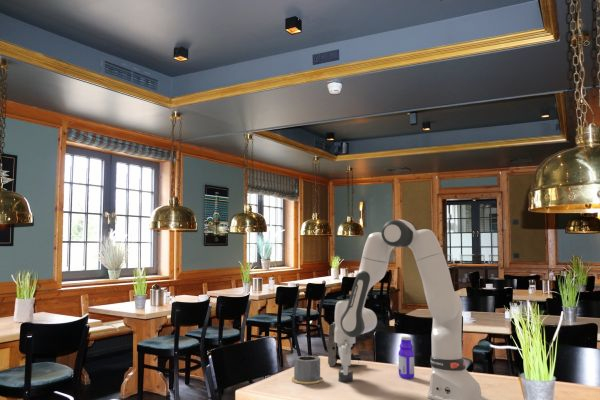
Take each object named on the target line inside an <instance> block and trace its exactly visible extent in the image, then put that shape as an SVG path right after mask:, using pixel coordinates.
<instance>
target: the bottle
mask: <svg viewBox="0 0 600 400" xmlns="http://www.w3.org/2000/svg"><path fill="white" fill-rule="evenodd" d="M400 337H401V339H400V344H399V351H398V376H399V377H400V378H402V379H405V380H411V379H414V378H415V353H414V350H413V348H414V347H413V344H412V336H410V335H401V336H400Z"/></svg>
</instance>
